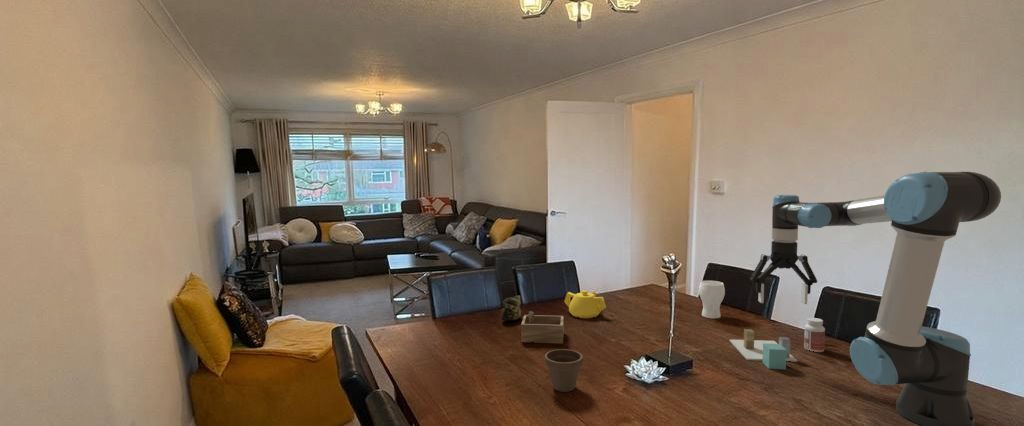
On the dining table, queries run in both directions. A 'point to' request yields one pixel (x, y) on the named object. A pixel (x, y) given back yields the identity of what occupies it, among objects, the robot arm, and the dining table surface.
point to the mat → (755, 350)
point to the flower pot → (563, 368)
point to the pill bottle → (814, 335)
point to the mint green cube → (774, 356)
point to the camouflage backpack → (511, 308)
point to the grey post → (785, 345)
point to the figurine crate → (543, 329)
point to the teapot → (584, 304)
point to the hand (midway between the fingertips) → (782, 302)
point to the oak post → (748, 339)
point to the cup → (711, 298)
